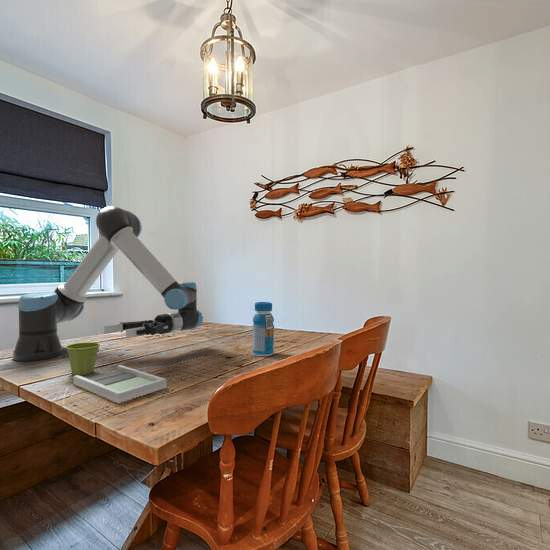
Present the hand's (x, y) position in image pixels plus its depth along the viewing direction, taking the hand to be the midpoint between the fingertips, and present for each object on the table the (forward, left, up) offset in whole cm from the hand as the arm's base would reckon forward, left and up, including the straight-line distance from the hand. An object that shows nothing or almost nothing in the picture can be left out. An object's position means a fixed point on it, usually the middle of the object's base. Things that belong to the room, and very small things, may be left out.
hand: (114, 331), depth 115 cm
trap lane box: (+19, +13, -11) cm, 25 cm away
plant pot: (+9, -5, -12) cm, 15 cm away
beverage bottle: (-23, +47, -12) cm, 54 cm away
